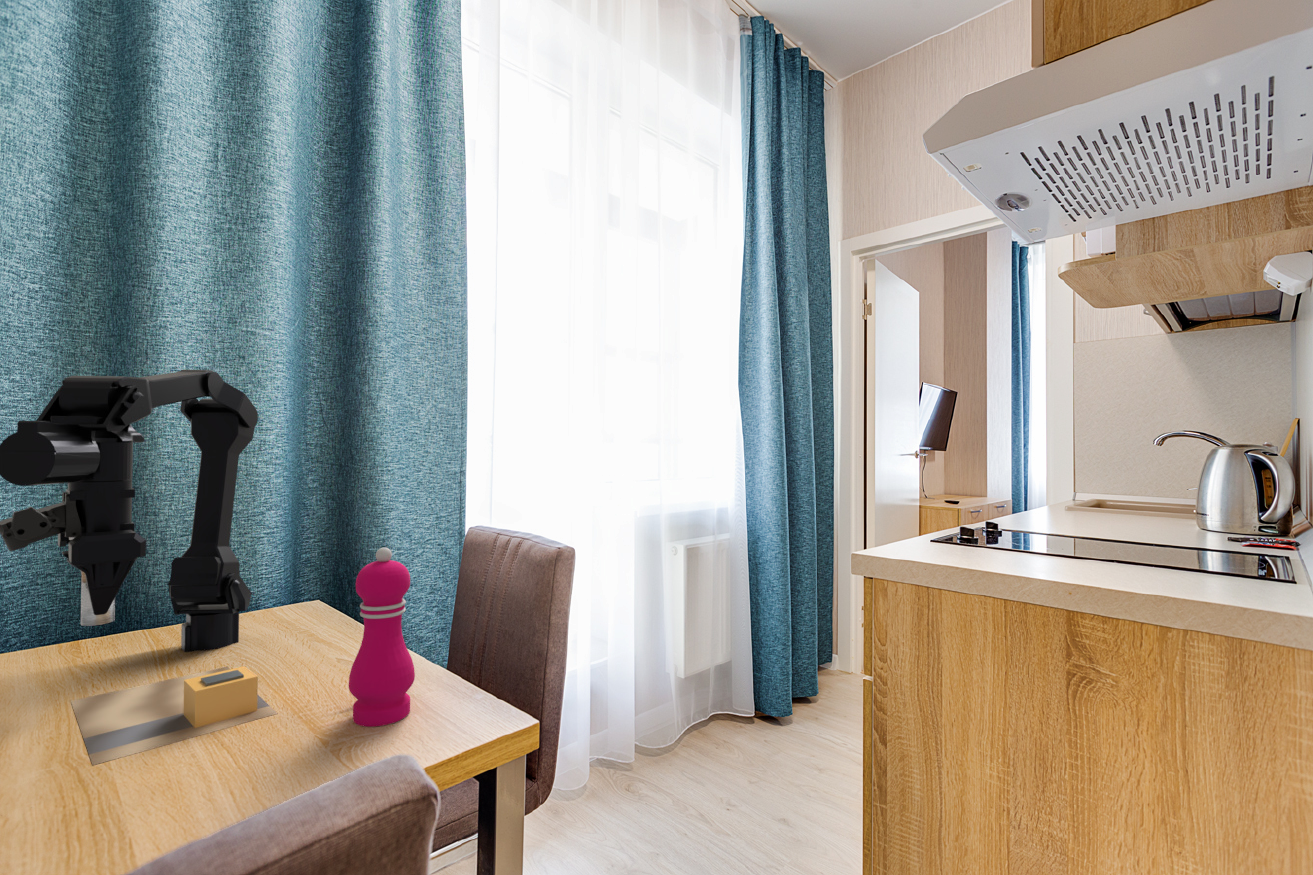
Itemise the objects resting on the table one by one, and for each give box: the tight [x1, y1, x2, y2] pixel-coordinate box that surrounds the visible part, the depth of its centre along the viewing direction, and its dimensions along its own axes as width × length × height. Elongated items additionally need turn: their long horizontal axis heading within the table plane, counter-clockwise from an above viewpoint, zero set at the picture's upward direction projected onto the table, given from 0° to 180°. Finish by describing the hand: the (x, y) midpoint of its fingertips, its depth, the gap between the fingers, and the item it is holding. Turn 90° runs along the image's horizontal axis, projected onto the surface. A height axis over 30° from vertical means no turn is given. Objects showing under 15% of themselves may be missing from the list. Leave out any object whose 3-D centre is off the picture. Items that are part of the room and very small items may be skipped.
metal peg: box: [80, 572, 116, 627], centre depth 74 cm, size 3×3×6 cm
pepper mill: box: [348, 546, 416, 728], centre depth 74 cm, size 7×7×20 cm
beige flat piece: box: [70, 666, 279, 766], centre depth 73 cm, size 16×22×1 cm
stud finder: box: [183, 665, 259, 728], centre depth 72 cm, size 6×5×4 cm
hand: (98, 611), depth 74 cm, fingers closed on metal peg, 3 cm apart
